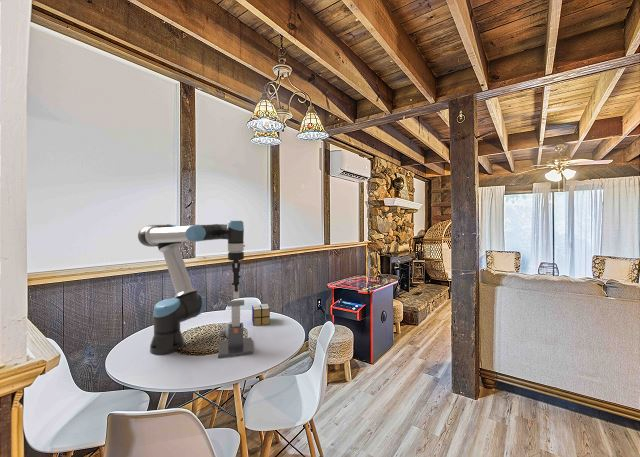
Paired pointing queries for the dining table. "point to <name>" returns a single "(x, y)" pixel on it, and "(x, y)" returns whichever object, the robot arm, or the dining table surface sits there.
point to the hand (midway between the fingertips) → (236, 294)
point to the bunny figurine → (224, 329)
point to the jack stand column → (235, 312)
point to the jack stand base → (235, 343)
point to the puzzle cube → (260, 314)
